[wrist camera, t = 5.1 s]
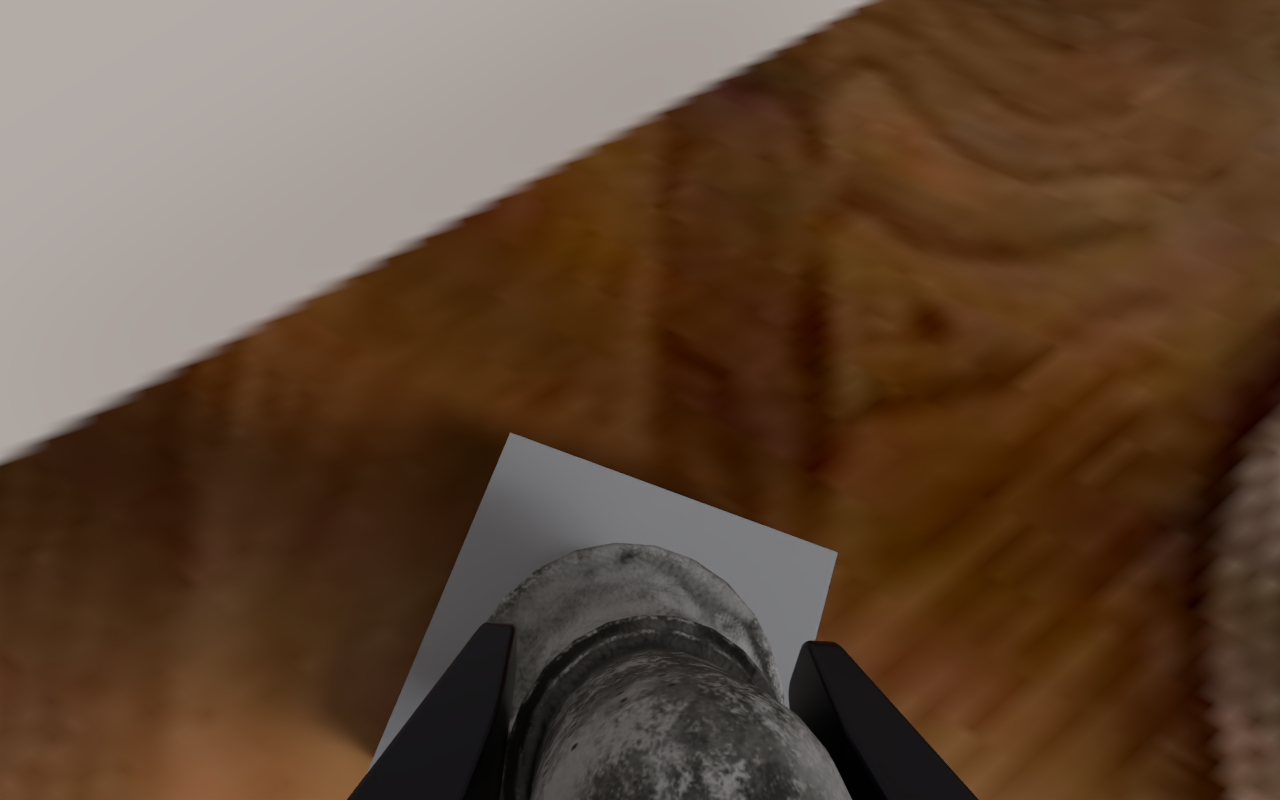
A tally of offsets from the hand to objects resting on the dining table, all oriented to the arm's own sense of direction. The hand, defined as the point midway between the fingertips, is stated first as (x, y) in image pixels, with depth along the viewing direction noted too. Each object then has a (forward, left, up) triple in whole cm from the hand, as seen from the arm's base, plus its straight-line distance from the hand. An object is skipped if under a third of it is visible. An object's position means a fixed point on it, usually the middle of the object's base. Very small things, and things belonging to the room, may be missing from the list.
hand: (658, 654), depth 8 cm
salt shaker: (-1, 0, -8) cm, 8 cm away
